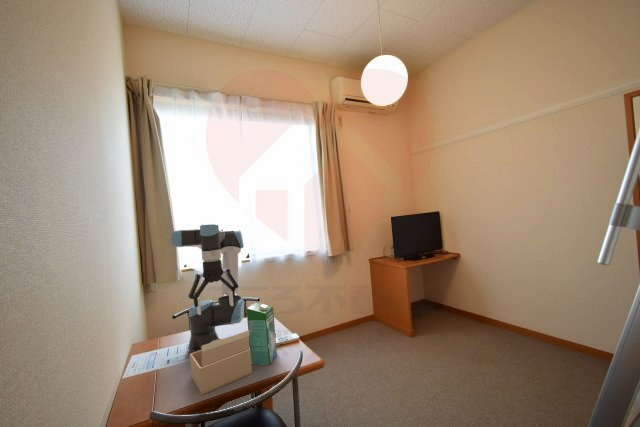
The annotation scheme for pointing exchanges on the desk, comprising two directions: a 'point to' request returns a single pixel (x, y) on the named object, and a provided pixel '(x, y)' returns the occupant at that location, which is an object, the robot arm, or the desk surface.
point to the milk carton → (261, 333)
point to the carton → (219, 370)
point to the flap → (225, 348)
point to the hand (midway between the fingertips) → (216, 309)
